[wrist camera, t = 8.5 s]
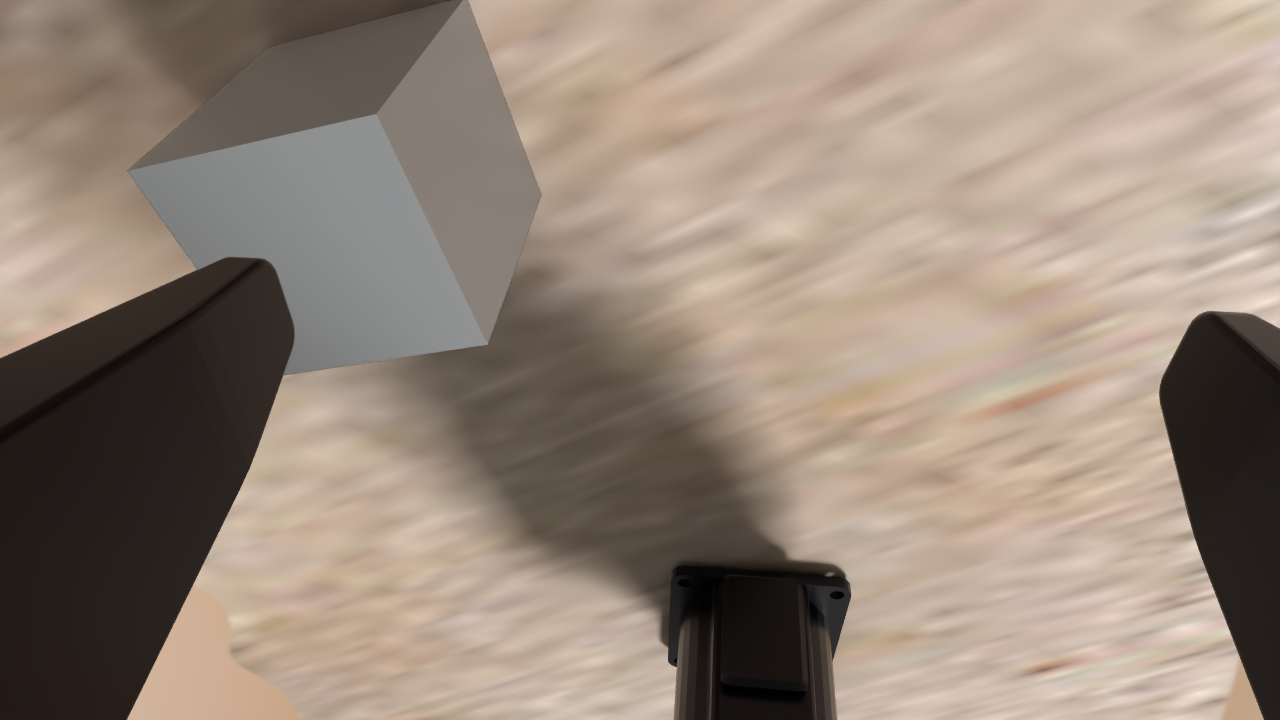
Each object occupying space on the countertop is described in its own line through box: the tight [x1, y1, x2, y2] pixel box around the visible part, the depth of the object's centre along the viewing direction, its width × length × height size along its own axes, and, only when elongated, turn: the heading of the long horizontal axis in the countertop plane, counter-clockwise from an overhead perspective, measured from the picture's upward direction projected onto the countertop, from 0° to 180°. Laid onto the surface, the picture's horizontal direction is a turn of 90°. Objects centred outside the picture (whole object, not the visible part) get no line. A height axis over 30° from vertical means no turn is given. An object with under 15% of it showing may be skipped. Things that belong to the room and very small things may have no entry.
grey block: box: [127, 0, 541, 376], centre depth 18 cm, size 5×5×6 cm
